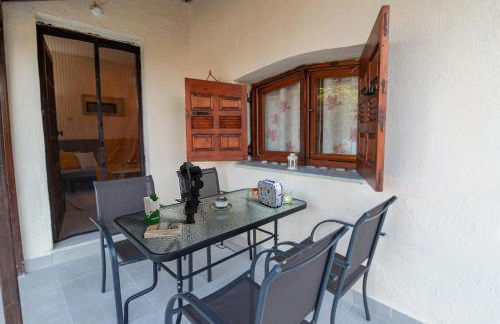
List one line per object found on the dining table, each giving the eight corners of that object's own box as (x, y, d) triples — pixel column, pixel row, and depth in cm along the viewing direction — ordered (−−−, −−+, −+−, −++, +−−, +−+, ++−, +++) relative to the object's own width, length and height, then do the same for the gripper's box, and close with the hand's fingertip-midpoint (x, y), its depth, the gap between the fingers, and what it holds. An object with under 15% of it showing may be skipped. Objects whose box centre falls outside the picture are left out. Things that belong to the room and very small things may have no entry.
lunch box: (285, 207, 203) (286, 181, 201) (275, 210, 197) (276, 182, 195) (265, 200, 226) (265, 176, 223) (256, 202, 220) (256, 177, 218)
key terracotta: (151, 231, 153) (150, 225, 152) (158, 230, 153) (157, 225, 153) (149, 233, 149) (149, 228, 148) (156, 233, 150) (156, 227, 149)
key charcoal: (171, 229, 155) (171, 224, 155) (178, 229, 156) (177, 224, 155) (170, 232, 151) (170, 226, 151) (177, 231, 152) (177, 226, 151)
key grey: (161, 228, 154) (161, 222, 153) (168, 227, 154) (167, 222, 154) (160, 230, 150) (160, 225, 149) (167, 229, 151) (166, 224, 150)
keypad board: (149, 229, 157) (149, 225, 157) (182, 226, 161) (181, 223, 161) (144, 238, 144) (144, 233, 143) (180, 235, 147) (180, 231, 147)
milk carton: (150, 226, 162) (148, 196, 160) (143, 223, 168) (141, 194, 165) (162, 222, 169) (161, 194, 166) (155, 220, 174) (153, 192, 172)
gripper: (182, 184, 162) (183, 207, 163) (180, 190, 143) (181, 216, 145) (199, 183, 164) (200, 206, 165) (199, 189, 145) (200, 215, 147)
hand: (195, 210), depth 156 cm, fingers closed
